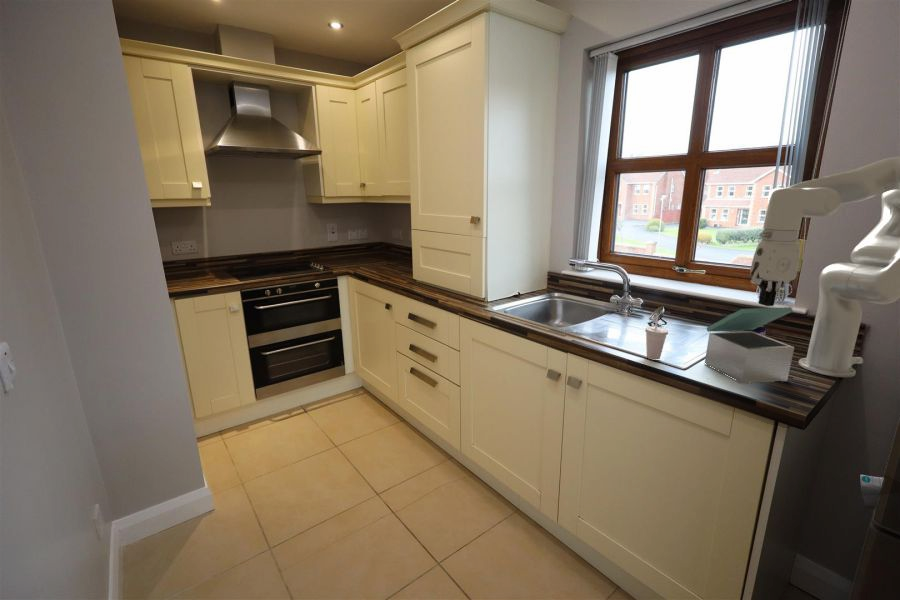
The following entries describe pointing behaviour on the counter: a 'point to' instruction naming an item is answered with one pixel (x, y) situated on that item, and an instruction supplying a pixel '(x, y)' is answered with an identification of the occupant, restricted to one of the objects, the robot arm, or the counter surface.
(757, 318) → the lid
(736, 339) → the grey open box
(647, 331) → the smoothie
